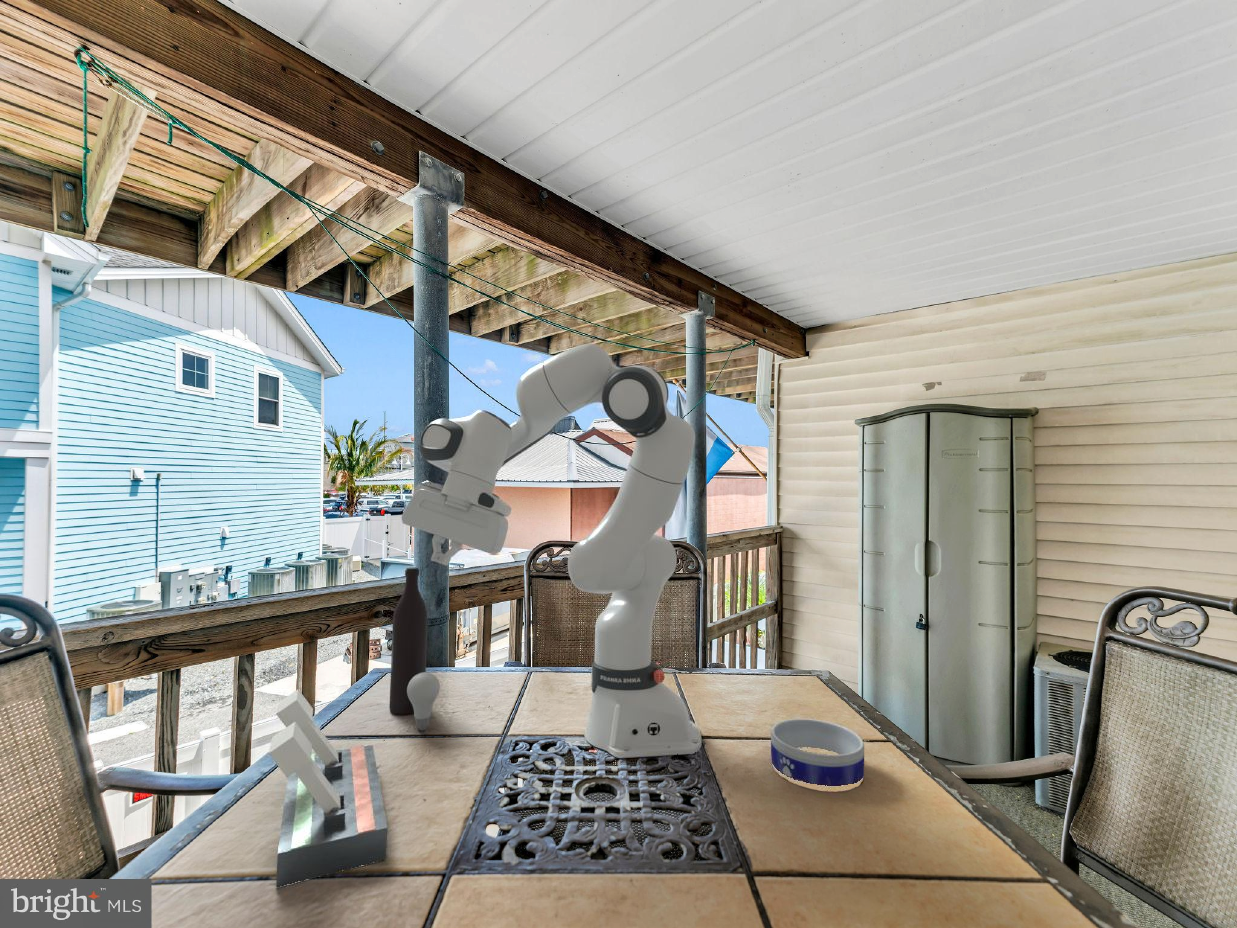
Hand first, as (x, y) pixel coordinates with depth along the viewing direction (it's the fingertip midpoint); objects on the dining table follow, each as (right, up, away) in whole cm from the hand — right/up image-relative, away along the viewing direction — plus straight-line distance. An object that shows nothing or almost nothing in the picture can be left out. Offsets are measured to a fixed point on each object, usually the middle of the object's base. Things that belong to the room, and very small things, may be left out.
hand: (439, 563), depth 105 cm
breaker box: (-8, -32, -24) cm, 41 cm away
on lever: (-4, -27, -30) cm, 41 cm away
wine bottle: (-12, -34, +16) cm, 40 cm away
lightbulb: (-5, -34, +6) cm, 35 cm away
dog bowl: (+67, -35, -7) cm, 76 cm away
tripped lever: (-11, -27, -18) cm, 34 cm away
